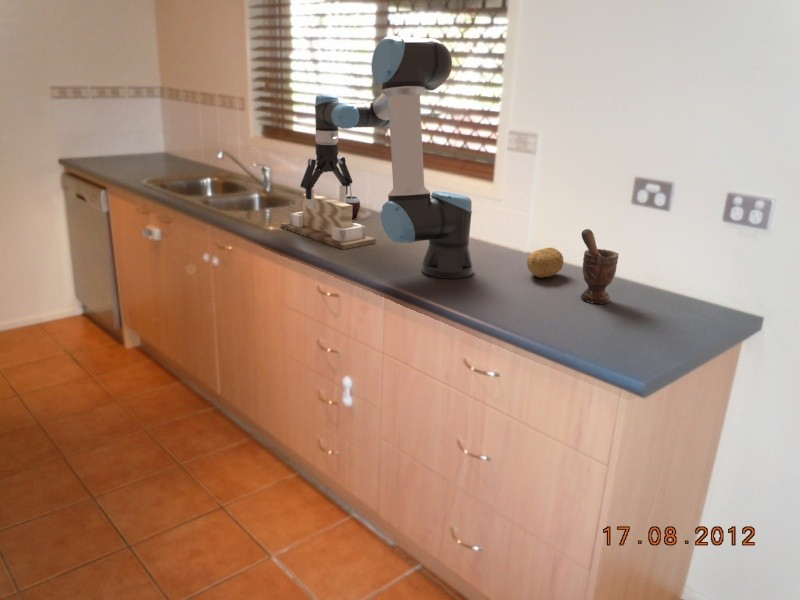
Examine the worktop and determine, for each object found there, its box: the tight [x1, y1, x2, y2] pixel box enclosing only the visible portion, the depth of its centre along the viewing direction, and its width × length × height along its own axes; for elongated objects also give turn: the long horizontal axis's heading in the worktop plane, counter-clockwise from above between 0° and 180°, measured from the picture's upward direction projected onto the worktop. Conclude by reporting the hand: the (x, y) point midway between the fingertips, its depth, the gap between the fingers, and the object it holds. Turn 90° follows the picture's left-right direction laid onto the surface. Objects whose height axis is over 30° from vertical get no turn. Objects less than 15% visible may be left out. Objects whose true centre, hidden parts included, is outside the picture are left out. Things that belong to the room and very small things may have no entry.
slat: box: [302, 193, 353, 235], centre depth 229 cm, size 24×4×11 cm, turn 40°
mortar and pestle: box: [580, 228, 619, 304], centre depth 173 cm, size 12×9×20 cm
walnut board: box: [280, 221, 377, 250], centre depth 232 cm, size 36×14×2 cm, turn 43°
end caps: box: [289, 211, 367, 242], centre depth 231 cm, size 30×10×4 cm, turn 43°
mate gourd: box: [346, 183, 361, 218], centre depth 257 cm, size 8×8×15 cm
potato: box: [526, 247, 564, 279], centre depth 195 cm, size 10×14×8 cm
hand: (327, 206), depth 228 cm, fingers open, 13 cm apart
